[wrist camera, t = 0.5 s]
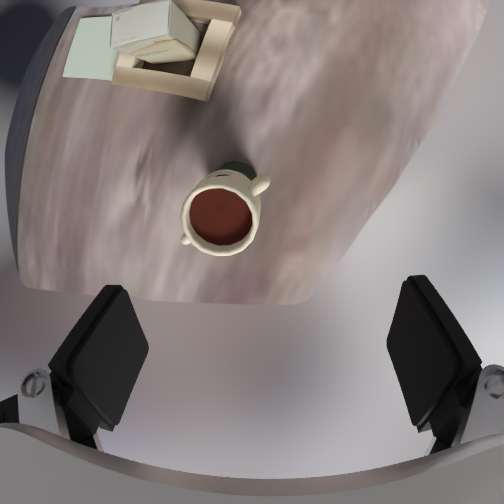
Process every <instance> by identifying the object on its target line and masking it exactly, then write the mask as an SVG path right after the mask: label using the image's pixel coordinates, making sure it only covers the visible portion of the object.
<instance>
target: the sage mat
mask: <svg viewBox="0 0 504 504" xmlns="http://www.w3.org/2000/svg"><path fill="white" fill-rule="evenodd" d="M111 19H112V16H111V17H92V18H81V20H80V22H79V25H78V28H77V30H76V33H75V36H74V39H73V42H72V45H71V48H70V51H69V55H68V58H67V62H66V65H65V69H64V73H63V77H76V78H91V79H103V80H112V77H113V74H114V70H115V67H116V64H117V60H118V57H119V54H120V51H117V50H114V49H111V48H110V47H109V46H110V28H111Z"/></svg>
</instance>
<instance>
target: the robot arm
mask: <svg viewBox="0 0 504 504" xmlns="http://www.w3.org/2000/svg"><path fill="white" fill-rule="evenodd" d="M387 349H388V352H389V355H390V358H391V360H392V363H393V366H394V369H395V372H396V374H397V377H398V380H399V383H400V386H401V390H402V393H403V395H404V399H405V402H406V405H407V408H408V412H409V415H410V419H411V422H412V424H413V425H414V426H417V429H418V433H420V432H423V431H427V430H430V429H432V432H433V439H432V441H431V443H430V445H429V447H428V449H427V451H426V453H425V455H424V457H421V458H417V459H414V460H410V461H406V462H402V463H398V464H394V465H390V466H385V467H381V468H376V469H372V470H366V471H360V472H355V473H348V474H341V475H333V476H324V477H312V478H296V479H245V478H229V477H218V476H209V475H201V474H194V473H187V472H181V471H176V470H170V469H165V468H160V467H155V466H151V465H147V464H143V463H139V462H135V461H131V460H128V459H124V458H120V457H117V456H114V455H110V454H108V453H105V452H104V450H103V447H102V445H101V442H100V439H99V437H98V434H97V429H98V426H99V427H100V428H102V429H105V430H108V431H113V429H114V427H115V425H118V424H119V422H120V420H121V417H122V414H123V412H124V409H125V406H126V404H127V402H128V399H129V397H130V394H131V392H132V389H133V387H134V385H135V382H136V380H137V377H138V375H139V372H140V370H141V368H142V365H143V363H144V361H145V358H146V356H147V354H148V350H149V346H148V342H147V340H146V338H145V335H144V333H143V330H142V328H141V326H140V323H139V321H138V318H137V316H136V313H135V311H134V308H133V305H132V303H131V300H130V298H129V295H128V292H127V291H126V290H125V289H124V288H123V287H122V286H121V285H106V286H104V287H103V289H102V290H101V291H100V293H99V294H98V295H97V296H96V298H95V299H94V300H93V302H92V303H91V304H90V306H89V307H88V308H87V310H86V311H85V312H84V314H83V315H82V316H81V318H80V319H79V320H78V322H77V323H76V325H75V326H74V327H73V329H72V330H71V332H70V333H69V335H68V336H67V337H66V339H65V340H64V342H63V343H62V345H61V346H60V347H59V349H58V351H57V352H56V353H55V355H54V356H53V358H52V360H51V361H50V363H49V364H48V366H49V368H50V369H51V373H50V374H49V373H48V372H47V371H46V370H44V369H42V368H37V369H33V370H31V371H29V372H28V373H26V374H25V375H24V376H23V378H22V379H21V380H20V383H19V386H18V394H17V395H14V396H12V397H10V398H8V399H5V400H3V401H1V402H0V504H504V367H502V366H500V365H495V364H494V365H489V366H486V367H485V368H484V369H482V367H481V363H482V361H481V359H480V357H479V356H478V354H477V352H476V350H475V349H474V347H473V345H472V344H471V342H470V340H469V339H468V337H467V335H466V334H465V332H464V330H463V329H462V327H461V326H460V324H459V323H458V321H457V320H456V318H455V316H454V315H453V313H452V312H451V311H450V309H449V308H448V306H447V305H446V304H445V302H444V300H443V299H442V298H441V296H440V295H439V293H438V292H437V290H436V289H435V288H434V286H433V285H432V284H431V282H430V281H429V279H428V278H427V277H426V276H425V275H415V276H409V277H408V278H407V280H406V281H404V282H403V283H402V287H401V291H400V295H399V299H398V303H397V307H396V310H395V314H394V317H393V321H392V324H391V327H390V331H389V334H388V337H387Z"/></svg>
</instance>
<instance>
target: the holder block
mask: <svg viewBox="0 0 504 504" xmlns="http://www.w3.org/2000/svg"><path fill="white" fill-rule="evenodd" d="M154 1H159V0H140V2H139V5H141V4H145V3H150V2H154ZM172 1H173V2H174V3H175V4H176V6H177V7H178V8H179V9H180V10H181V11H182V12H183V13H184V15H185V16H186V17H187V18H188V19H189V20H190V21H191V22H197V23H203V24H210V25H209V27H208V30H207V32H206V35H205V37H204V40H203V42H202V45H201V47H200V50H199V53H198V56H197V58H196V61H195V64H194V67H193V70H192V73H191V75H190V77H188V76H183V75H178V74H172V73H166V72H160V71H154V70H147V69H142V68H143V65H144V62H145V60H142V59H140V58H137V57H134V56H131V55H129V54H126V53H123V52H120V54H119V57H118V60H117V64H116V67H115V70H114V74H113V77H112V81H111V84H115V85H123V86H130V87H137V88H143V89H149V90H155V91H160V92H165V93H170V94H175V95H180V96H185V97H189V98H194V99H198V100H202V101H207V102H209V101H210V98H211V95H212V92H213V89H214V86H215V83H216V80H217V77H218V74H219V71H220V69H221V66H222V63H223V60H224V58H225V55H226V52H227V50H228V47H229V45H230V42H231V40H232V37H233V35H234V32H235V30H236V27H237V25H238V22H239V20H240V18H241V15H242V13H241V10H240V7H239V6H235V5H230V4H224V3H218V2H212V1H204V0H172Z"/></svg>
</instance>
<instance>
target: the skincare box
mask: <svg viewBox="0 0 504 504" xmlns="http://www.w3.org/2000/svg"><path fill="white" fill-rule="evenodd" d="M199 40H200V32H199V31H198V30H197V28H196V27H195V26H194V25H193V24H192V23H191V21H190V20H189V19H188V18H187V17H186V16H185V15H184V13H183V12H182V11H181V10H180V9H179V8H178V7H177V6H176V4H175V3H174V2H173V1H172V0H159V1H154V2H150V3H145V4H141V5H137V6H134V7H130V8H127V9H124V10H121V11H118V12H115V13H112V19H111V28H110V46H109V47H110V48H111V49H114V50H117V51H120V52H123V53H126V54H129V55H131V56H134V57H137V58H140V59H142V60H145V61H147V62H150V63H152V64H155V65H156V64H162V63H170V62H178V61H186V60H195V59H196V58H197V56H198V53H199Z"/></svg>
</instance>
